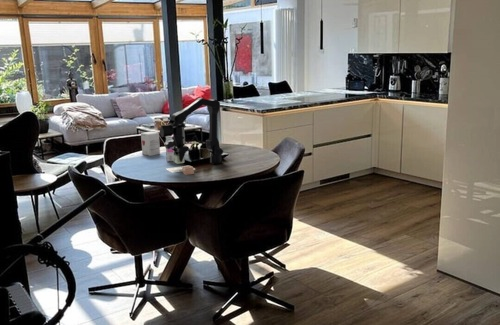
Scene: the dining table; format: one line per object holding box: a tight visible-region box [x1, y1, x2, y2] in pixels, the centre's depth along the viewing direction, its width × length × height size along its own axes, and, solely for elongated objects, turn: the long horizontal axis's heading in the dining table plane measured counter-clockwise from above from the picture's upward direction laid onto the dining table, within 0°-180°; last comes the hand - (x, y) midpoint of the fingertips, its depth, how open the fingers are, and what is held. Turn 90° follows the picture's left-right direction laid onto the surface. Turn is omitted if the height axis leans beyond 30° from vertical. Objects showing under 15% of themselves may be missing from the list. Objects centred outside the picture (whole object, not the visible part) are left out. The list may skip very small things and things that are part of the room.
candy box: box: [164, 135, 175, 163], centre depth 304 cm, size 14×6×16 cm, turn 169°
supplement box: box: [140, 130, 161, 157], centre depth 322 cm, size 9×9×15 cm
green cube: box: [174, 154, 185, 165], centre depth 279 cm, size 4×4×4 cm
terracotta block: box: [181, 165, 195, 176], centre depth 269 cm, size 5×5×4 cm
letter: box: [165, 165, 186, 174], centre depth 280 cm, size 15×11×1 cm
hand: (179, 160), depth 280 cm, fingers closed on green cube, 4 cm apart
